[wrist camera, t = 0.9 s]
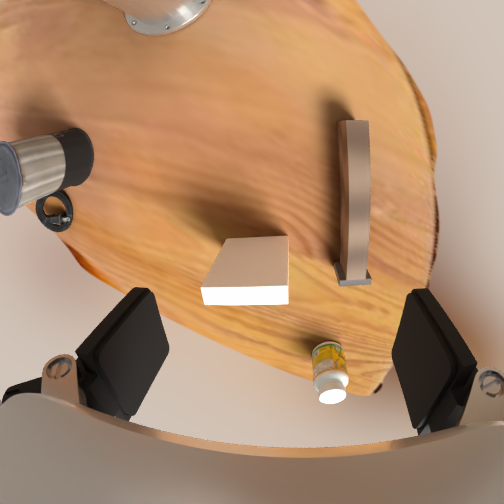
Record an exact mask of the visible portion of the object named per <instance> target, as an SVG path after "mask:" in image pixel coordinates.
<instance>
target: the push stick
mask: <svg viewBox="0 0 504 504" xmlns="http://www.w3.org/2000/svg"><path fill="white" fill-rule="evenodd" d="M337 131H338V145H339V164H340V199H341V230H340V261H334V269H335V273H336V276H337V280H338V283H339V286H355V285H370V284H371V280H372V278H371V276H370V274H369V272H368V270H367V258H368V245H369V228H370V200H371V168H370V139H369V123H368V121H363V120H343V121H338V122H337Z"/></svg>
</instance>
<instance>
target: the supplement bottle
mask: <svg viewBox="0 0 504 504" xmlns="http://www.w3.org/2000/svg"><path fill="white" fill-rule="evenodd" d="M312 362H313V380H314V387H315V388H316V390H317V391H319V392H318V393H319V399H320V401H321V402H323V403H326V404H333V403H337V402H340V401H342V400H343V399H344V398H345V397H346V388H345V387H346V385H347V384H348V373H347V367H346V362H345V356H344V351H343V348H342V346H341V345H340V344H338V343H336V342H324V343H321V344H319V345H317V346H316V347H315V348H314V350H313V352H312Z"/></svg>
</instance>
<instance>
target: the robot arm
mask: <svg viewBox="0 0 504 504" xmlns="http://www.w3.org/2000/svg"><path fill="white" fill-rule="evenodd" d="M102 1H104V2H106V3H108V4H110V5H112V6H114V7H116V8H118V9H120V10H122V11H124V12H125V18H126V21H127V23H128V25H129V26H130V27H131V28H132V29H133V30H135V31H136V32H138V33H140V34H143V35H147V36H161V35H166V34H170V33H173V32H176V31H178V30H181V29H183V28H184V27H186V26H188V25H190V24H191V23H192V22H194V21H195V20H197V19H198V18H199V17H200V16H201V15H202V14H203V13H204V12H205V10H206V9H207V8H208V7H209V5H210V3H211V1H212V0H102ZM75 352H76V354H77V356H78V358H77V360H75V359H74V358H73V356H70V355H66V354H63V355H58V356H56V357H54V358H52V359H50V360H49V361H48V362H47V363H46V365H45V366H44V368H43V372H42V377H40V378H36V379H33V380H30V381H27V382H24V383H20V384H17V385H14V386H11V387H9V388H8V389H7V390H6V392H5V394H4V396H3V399H2V402H1V400H0V504H504V373H503V372H502V371H500V370H498V369H497V368H493V367H484V368H482V369H480V370H479V371H478V370H477V368H476V365H477V361H476V360H475V358H474V356H473V355H472V353H471V351H470V350H469V348H468V346H467V345H466V343H465V341H464V340H463V338H462V337H461V335H460V334H459V332H458V331H457V329H456V328H455V326H454V324H453V323H452V322H451V320H450V319H449V317H448V316H447V314H446V313H445V312H444V310H443V308H442V307H441V306H440V304H439V303H438V302H437V300H436V299H435V297H434V296H433V295H432V293H431V292H430V291H429V289H427V288H423V289H413V290H412V291H411V293H409V294H408V295H407V297H406V301H405V306H404V310H403V314H402V317H401V321H400V325H399V328H398V332H397V335H396V339H395V342H394V345H393V348H392V360H393V363H394V366H395V369H396V372H397V375H398V378H399V381H400V384H401V388H402V391H403V394H404V398H405V401H406V405H407V408H408V412H409V415H410V419H411V423H412V426H413V428H414V429H416V428H417V432H418V436H414V437H410V438H404V439H398V440H393V441H386V442H379V443H372V444H364V445H355V446H342V447H325V448H278V447H261V446H248V445H238V444H230V443H223V442H215V441H209V440H203V439H197V438H193V437H187V436H183V435H178V434H173V433H169V432H165V431H161V430H157V429H153V428H149V427H146V426H142V425H138V424H135V423H132V422H129V419H130V418H131V416H133V415H135V414H136V412H137V411H138V409H139V407H140V405H141V403H142V401H143V399H144V397H145V395H146V394H147V392H148V390H149V388H150V386H151V384H152V383H153V381H154V379H155V377H156V375H157V373H158V371H159V370H160V368H161V366H162V364H163V362H164V360H165V359H166V357H167V355H168V353H169V344H168V341H167V338H166V334H165V331H164V328H163V325H162V321H161V317H160V314H159V310H158V307H157V303H156V299H155V296H154V294H153V292H151V291H150V290H149V289H148V288H140V287H134V288H133V289H132V290H131V291H130V292H129V293H128V294H127V295H126V296H125V297H124V298H123V299H122V300H121V301H120V302H119V303H118V304H117V305H116V307H115V308H114V309H113V310H112V311H111V312H110V313H109V314H108V315H107V316H106V317H105V318H104V319H103V321H102V322H101V323H100V324H99V325H98V326H97V327H96V328H95V329H94V330H93V331H92V333H91V334H90V335H89V336H88V337H87V338H86V339H85V340H84V342H83V343H82V344H81V345H80V346H79V348H77V350H76V351H75Z"/></svg>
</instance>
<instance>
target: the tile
mask: <svg viewBox="0 0 504 504" xmlns="http://www.w3.org/2000/svg"><path fill="white" fill-rule="evenodd" d="M201 291H202V295H203V300H204V304H205V305H271V304H288V292H289V245H288V236H267V237H248V238H230V239H226V241H225V243H224V244H223V246H222V248H221V250H220V252H219V254H218V256H217V257H216V259H215V261H214V263H213V265H212V267H211V269H210V271H209V273H208V274H207V276H206V278H205V280H204V282H203V284H202V286H201Z"/></svg>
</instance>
